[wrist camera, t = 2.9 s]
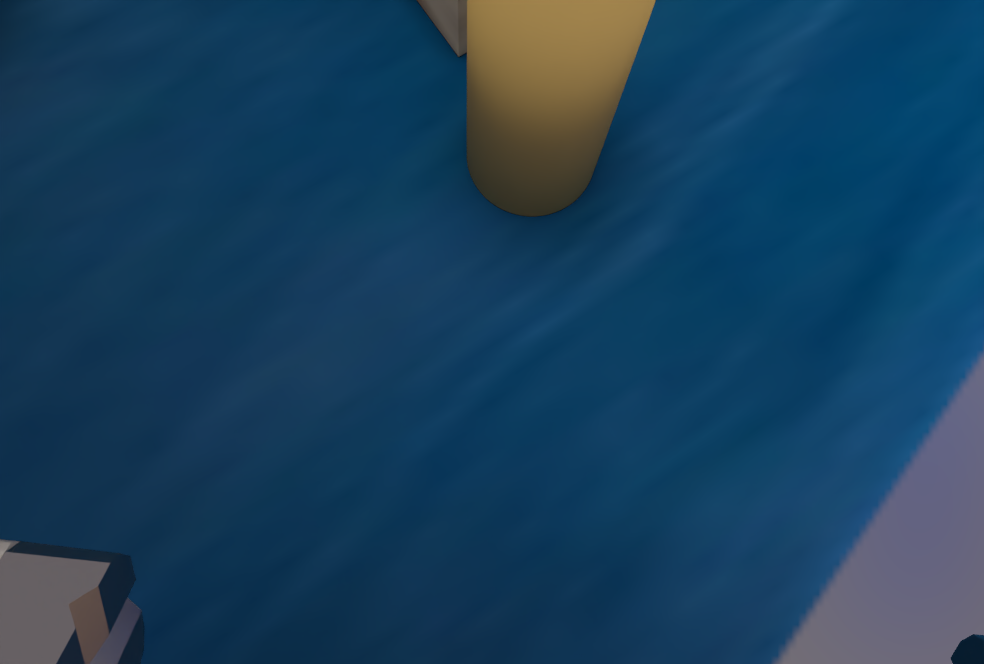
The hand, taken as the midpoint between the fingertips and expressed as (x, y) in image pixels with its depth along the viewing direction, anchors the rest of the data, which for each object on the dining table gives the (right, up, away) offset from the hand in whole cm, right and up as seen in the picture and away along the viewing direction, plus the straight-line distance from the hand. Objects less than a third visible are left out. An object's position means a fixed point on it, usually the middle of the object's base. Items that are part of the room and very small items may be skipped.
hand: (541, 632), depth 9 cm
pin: (+1, +9, +19) cm, 21 cm away
